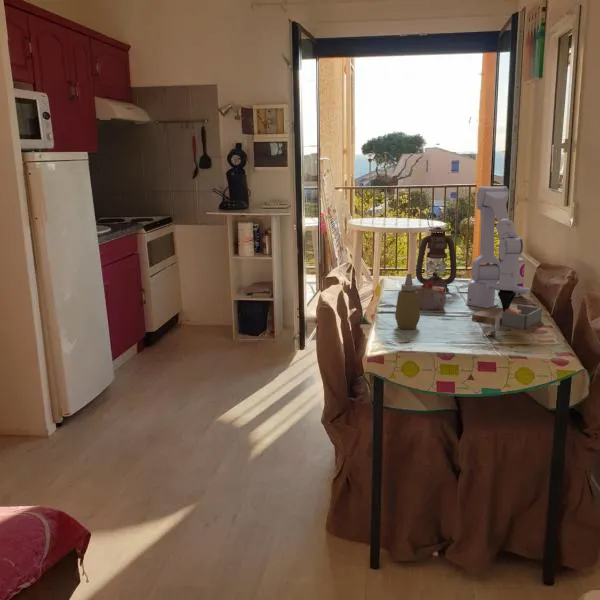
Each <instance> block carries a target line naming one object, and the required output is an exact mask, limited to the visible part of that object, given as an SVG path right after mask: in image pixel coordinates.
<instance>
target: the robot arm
mask: <svg viewBox="0 0 600 600" xmlns="http://www.w3.org/2000/svg"><path fill="white" fill-rule="evenodd" d="M509 192H510V191H509V188H508V186H506V185H503V186H484V185H481V186H479V188H478V189H477V192H476V209H477V210H478V211H480V248H479V249H480V251H479V256H478V257H476V258H475V259H474V260H473V261H472V264H471V265H472V266H471V268H470V269H471V271H470V275H471V279H472V280H471V281H469V282H468V283H469V284H468V286H467V296H466V297H467V298H466V303H465V305H468V306H473V307H479V308H483V309H486V308H488V307H491V306H492V307H497V306H498V305H499V303H496V302H495V299H496V298H495V297H496V291H498V292H497V295H498V297H499V300H500V303H501V306H502V307H501V308H503V312H505V310H506V309H508V308H510V307H511V304H512V301H514V298H516V297H515V295H516V293H521V294H522V295H526V296H529V295H530V294H531V293H530V291H531V288H529V287H524V286H523V287H520V286H517V276H518V264H519V257H520V255H521V254H522V253H523V250H524V241H523V239H522V237H521V236H520V235H519V234H517V231H516V228H515V224H514V221H513V220H512V219H510V218H509V214H508V209H507V204H508V200H509V195H510V193H509ZM495 218H496V219H495ZM495 220H496V221H497V223H496V224H495ZM495 225H496V227H495ZM495 229H496V232H497V236H498V238H499V243H498V251H499V259H498V258H497V257H496V256H495Z"/></svg>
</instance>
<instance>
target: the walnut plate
mask: <svg viewBox="0 0 600 600" xmlns="http://www.w3.org/2000/svg"><path fill="white" fill-rule="evenodd" d="M502 312H503V307H498V306H494V307H492V306H491V307H488V308H483V309H482V310H479V311H477V312H475V313H472V314H471V321H474V320H476V322H480V321H482V322H481V323H485V322H487V323H489V324H491V323H492V324H491V325H495V319H496V317H497V318H499V319H500V323H499V326H502V325H501V320H502Z"/></svg>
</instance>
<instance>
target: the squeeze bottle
mask: <svg viewBox="0 0 600 600" xmlns="http://www.w3.org/2000/svg"><path fill="white" fill-rule="evenodd" d="M416 285H417V284H415V283H413V278H412V273H411V272H409V273H407V274H406V277H405V280H404V283H402V284H401V285H400V286H401V289H400V290H399V291H398V293H397V294H398V295H397V300H396V308H395V313H394V318H395V321H396V323H397V324H396V325H397V327H398V328H399V329H402V330H413V329H414V330H415V329H416V328H417V327H418V324H419V321H420V319H421V316H420V315H421V314H420V313H421V312H420V309H419V294H418V292H417V291H415V290H416Z"/></svg>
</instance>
